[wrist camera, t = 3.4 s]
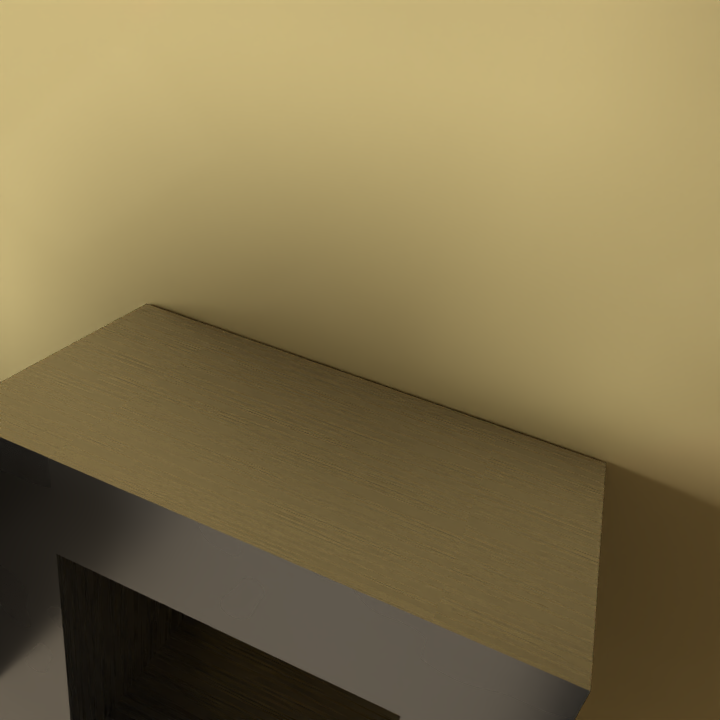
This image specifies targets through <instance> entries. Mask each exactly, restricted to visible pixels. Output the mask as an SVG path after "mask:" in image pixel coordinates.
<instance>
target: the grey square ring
mask: <svg viewBox="0 0 720 720" xmlns="http://www.w3.org/2000/svg"><path fill="white" fill-rule="evenodd" d="M605 468H606V463H604V462H601V461H598V460H595V459H592V458H589V457H586V456H584V455H581V454H578V453H575V452H572V451H569V450H566V449H563V448H561V447H558V446H555V445H552V444H549V443H546V442H543V441H540V440H538V439H535V438H532V437H529V436H526V435H523V434H520V433H517V432H514V431H512V430H509V429H506V428H503V427H500V426H497V425H494V424H491V423H489V422H486V421H483V420H480V419H477V418H474V417H471V416H468V415H466V414H463V413H460V412H457V411H454V410H451V409H448V408H445V407H443V406H440V405H437V404H434V403H431V402H428V401H425V400H422V399H419V398H417V397H414V396H411V395H408V394H405V393H402V392H399V391H396V390H394V389H391V388H388V387H385V386H382V385H379V384H376V383H373V382H371V381H368V380H365V379H362V378H359V377H356V376H353V375H350V374H347V373H345V372H342V371H339V370H336V369H333V368H330V367H327V366H324V365H322V364H319V363H316V362H313V361H310V360H307V359H304V358H301V357H299V356H296V355H293V354H290V353H287V352H284V351H281V350H278V349H275V348H273V347H270V346H267V345H264V344H261V343H258V342H255V341H252V340H250V339H247V338H244V337H241V336H238V335H235V334H232V333H229V332H227V331H224V330H221V329H218V328H215V327H212V326H209V325H206V324H203V323H201V322H198V321H195V320H192V319H189V318H186V317H183V316H180V315H178V314H175V313H172V312H169V311H166V310H163V309H160V308H157V307H155V306H152V305H149V304H145V305H143V306H141V307H140V308H138V309H136V310H134V311H132V312H130V313H128V314H127V315H125V316H123V317H121V318H119V319H117V320H115V321H114V322H112V323H110V324H108V325H106V326H104V327H102V328H100V329H99V330H97V331H95V332H93V333H91V334H89V335H87V336H86V337H84V338H82V339H80V340H78V341H76V342H74V343H73V344H71V345H69V346H67V347H65V348H63V349H61V350H60V351H58V352H56V353H54V354H52V355H50V356H48V357H47V358H45V359H43V360H41V361H39V362H37V363H35V364H34V365H32V366H30V367H28V368H26V369H24V370H22V371H21V372H19V373H17V374H15V375H13V376H11V377H9V378H8V379H6V380H4V381H2V382H0V720H575V718H576V716H577V714H578V713H579V711H580V709H581V707H582V705H583V704H584V702H585V700H586V698H587V697H588V695H589V693H590V691H591V676H592V661H593V647H594V632H595V617H596V602H597V587H598V572H599V557H600V542H601V528H602V513H603V498H604V483H605Z"/></svg>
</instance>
